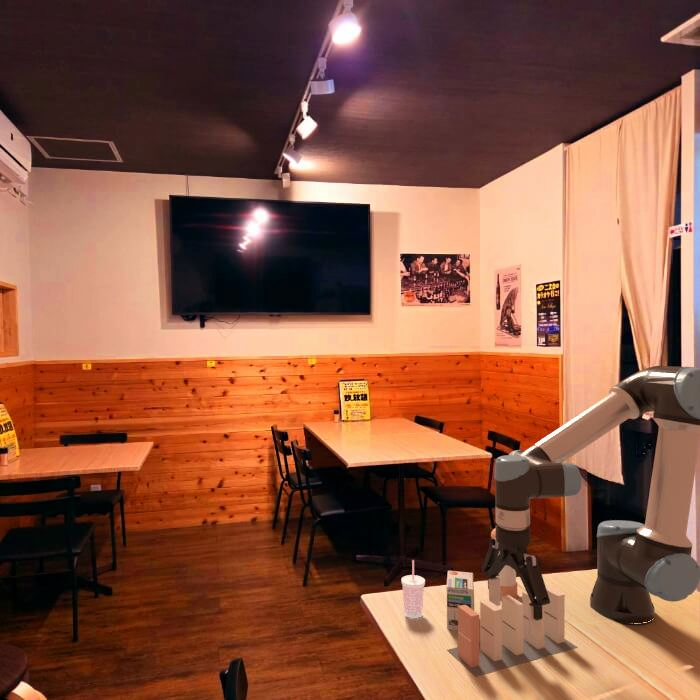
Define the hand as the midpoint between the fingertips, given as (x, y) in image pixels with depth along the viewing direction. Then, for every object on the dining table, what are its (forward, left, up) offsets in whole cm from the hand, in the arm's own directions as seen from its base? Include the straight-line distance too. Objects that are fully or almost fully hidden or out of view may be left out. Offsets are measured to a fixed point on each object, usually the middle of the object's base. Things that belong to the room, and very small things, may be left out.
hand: (513, 618), depth 126 cm
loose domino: (0, 0, -7) cm, 7 cm away
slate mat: (0, 0, -7) cm, 7 cm away
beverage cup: (+12, -24, -8) cm, 28 cm away
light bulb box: (+3, -16, -8) cm, 18 cm away
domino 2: (+6, 0, -7) cm, 9 cm away
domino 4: (-12, 0, -7) cm, 13 cm away
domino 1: (+12, 0, -7) cm, 14 cm away
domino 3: (-6, 0, -7) cm, 9 cm away
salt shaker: (-17, -24, -8) cm, 30 cm away
